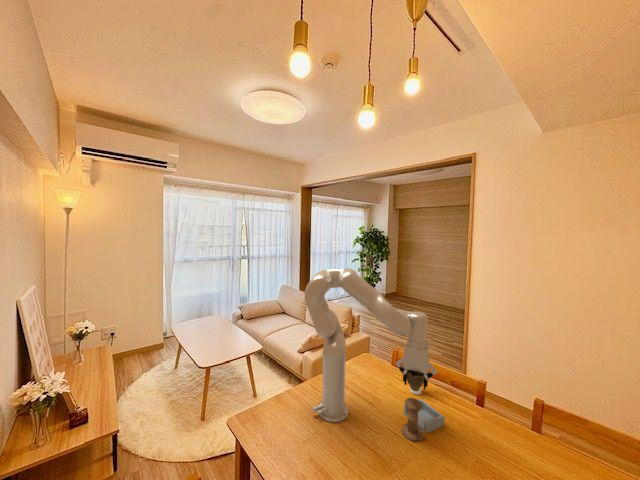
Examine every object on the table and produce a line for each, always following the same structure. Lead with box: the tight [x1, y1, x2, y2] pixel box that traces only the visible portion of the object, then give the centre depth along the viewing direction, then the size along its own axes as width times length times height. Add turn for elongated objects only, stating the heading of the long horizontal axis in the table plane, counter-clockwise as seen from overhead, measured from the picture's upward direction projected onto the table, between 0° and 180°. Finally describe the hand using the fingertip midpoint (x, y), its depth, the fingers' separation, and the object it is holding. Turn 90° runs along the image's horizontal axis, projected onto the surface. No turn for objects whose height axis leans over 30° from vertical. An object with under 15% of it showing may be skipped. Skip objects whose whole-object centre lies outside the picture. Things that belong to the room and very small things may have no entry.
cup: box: [406, 370, 425, 391], centre depth 106 cm, size 8×7×8 cm
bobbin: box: [401, 397, 424, 443], centre depth 98 cm, size 8×8×12 cm
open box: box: [403, 398, 446, 434], centre depth 106 cm, size 10×12×4 cm
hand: (414, 385), depth 106 cm, fingers closed on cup, 6 cm apart
